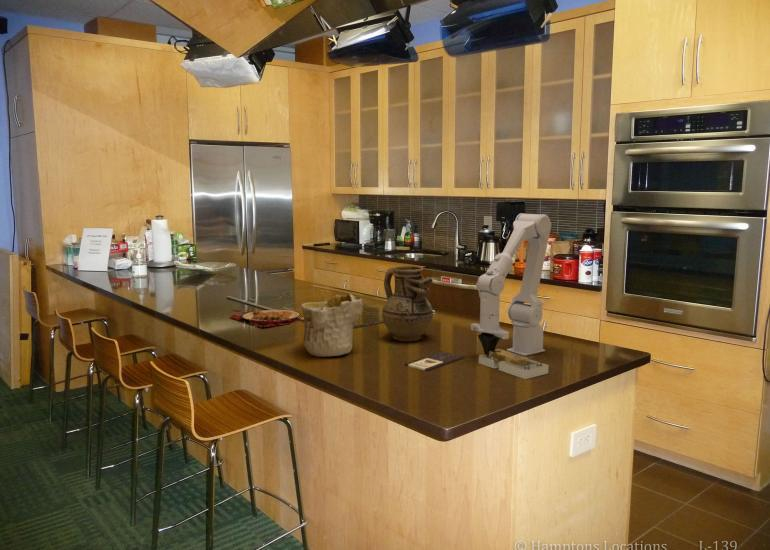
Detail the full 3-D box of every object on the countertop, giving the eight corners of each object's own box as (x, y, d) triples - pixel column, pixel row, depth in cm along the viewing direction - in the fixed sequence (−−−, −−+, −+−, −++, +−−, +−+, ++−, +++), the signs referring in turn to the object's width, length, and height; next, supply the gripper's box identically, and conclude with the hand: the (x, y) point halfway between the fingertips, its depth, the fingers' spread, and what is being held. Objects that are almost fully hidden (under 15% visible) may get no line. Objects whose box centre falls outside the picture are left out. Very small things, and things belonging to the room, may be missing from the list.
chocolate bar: (464, 356, 194) (428, 369, 181) (464, 359, 194) (428, 372, 181) (441, 351, 200) (404, 363, 187) (441, 354, 200) (404, 366, 187)
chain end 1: (500, 358, 193) (500, 348, 193) (515, 363, 188) (516, 353, 188) (478, 363, 188) (478, 353, 188) (493, 368, 183) (494, 358, 182)
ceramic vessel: (266, 331, 199) (302, 271, 206) (312, 362, 212) (344, 305, 219) (302, 342, 184) (339, 277, 191) (350, 375, 197) (383, 313, 204)
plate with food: (263, 331, 234) (263, 322, 234) (229, 318, 254) (228, 310, 253) (316, 322, 251) (316, 313, 250) (280, 310, 270) (280, 302, 270)
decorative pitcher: (367, 337, 221) (366, 267, 217) (403, 329, 233) (403, 262, 229) (411, 348, 205) (411, 273, 201) (447, 339, 217) (447, 268, 213)
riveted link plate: (498, 360, 191) (498, 348, 191) (527, 369, 182) (528, 357, 181) (488, 362, 189) (489, 350, 189) (518, 372, 179) (518, 359, 179)
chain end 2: (520, 364, 186) (521, 355, 186) (548, 373, 178) (548, 363, 177) (498, 370, 181) (498, 360, 181) (525, 379, 173) (526, 368, 172)
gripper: (463, 311, 193) (463, 354, 195) (497, 319, 181) (496, 365, 183) (480, 308, 196) (480, 350, 199) (514, 316, 185) (513, 361, 187)
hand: (489, 357), depth 191 cm, fingers closed
